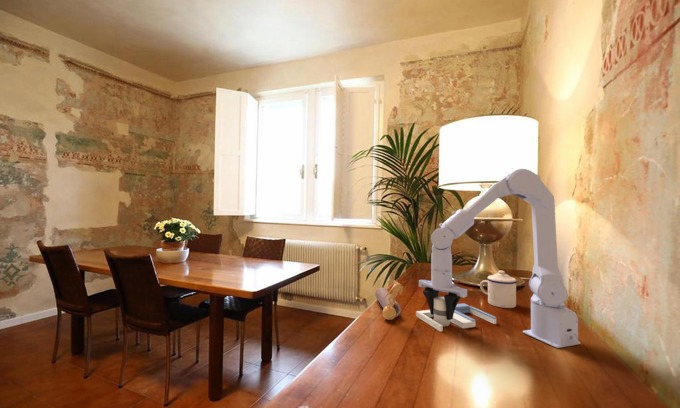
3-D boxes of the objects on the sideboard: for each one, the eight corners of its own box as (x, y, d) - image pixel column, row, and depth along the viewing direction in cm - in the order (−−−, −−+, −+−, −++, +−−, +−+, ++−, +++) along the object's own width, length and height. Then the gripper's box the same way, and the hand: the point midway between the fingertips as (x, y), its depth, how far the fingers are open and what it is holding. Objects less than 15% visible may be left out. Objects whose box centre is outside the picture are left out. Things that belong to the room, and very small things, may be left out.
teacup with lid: (521, 305, 102) (521, 271, 102) (510, 310, 97) (509, 274, 97) (486, 296, 112) (486, 266, 112) (474, 301, 106) (474, 268, 106)
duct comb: (496, 323, 85) (496, 316, 85) (440, 331, 80) (440, 323, 80) (466, 309, 97) (466, 303, 97) (415, 315, 91) (415, 308, 91)
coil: (402, 303, 90) (388, 287, 108) (387, 301, 89) (375, 286, 107) (400, 318, 89) (386, 300, 107) (385, 317, 89) (374, 299, 107)
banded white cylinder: (453, 325, 84) (453, 300, 84) (439, 327, 83) (439, 302, 83) (443, 319, 88) (443, 296, 89) (430, 321, 87) (430, 297, 87)
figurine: (391, 314, 92) (392, 276, 93) (408, 319, 88) (408, 279, 89) (375, 321, 87) (375, 279, 87) (392, 326, 82) (392, 283, 83)
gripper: (472, 271, 83) (472, 320, 82) (428, 264, 94) (428, 307, 94) (459, 275, 78) (459, 326, 78) (414, 266, 90) (414, 311, 89)
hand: (441, 316), depth 86 cm, fingers closed on banded white cylinder, 5 cm apart
